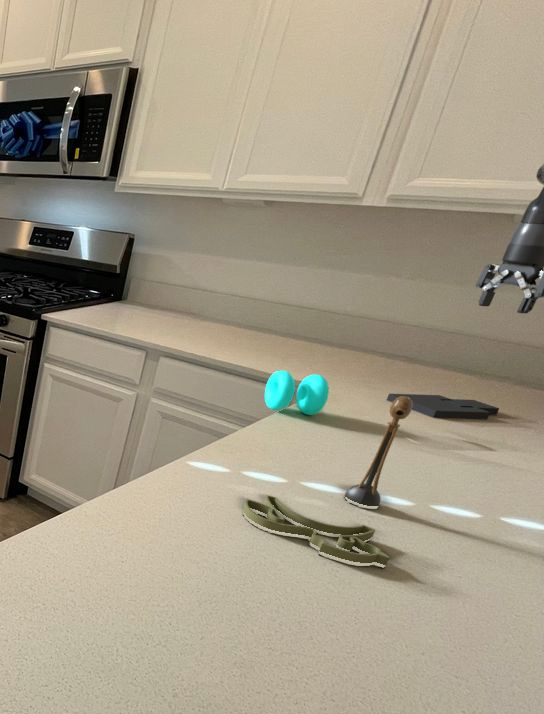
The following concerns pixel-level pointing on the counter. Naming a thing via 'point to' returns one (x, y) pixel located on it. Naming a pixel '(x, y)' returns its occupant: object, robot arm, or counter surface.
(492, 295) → the robot arm
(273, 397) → the donuts
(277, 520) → the cookie cutter
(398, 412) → the wooden tabletop sculpture
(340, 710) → the counter surface
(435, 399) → the notch pad
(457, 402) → the tab pad
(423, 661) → the counter surface
